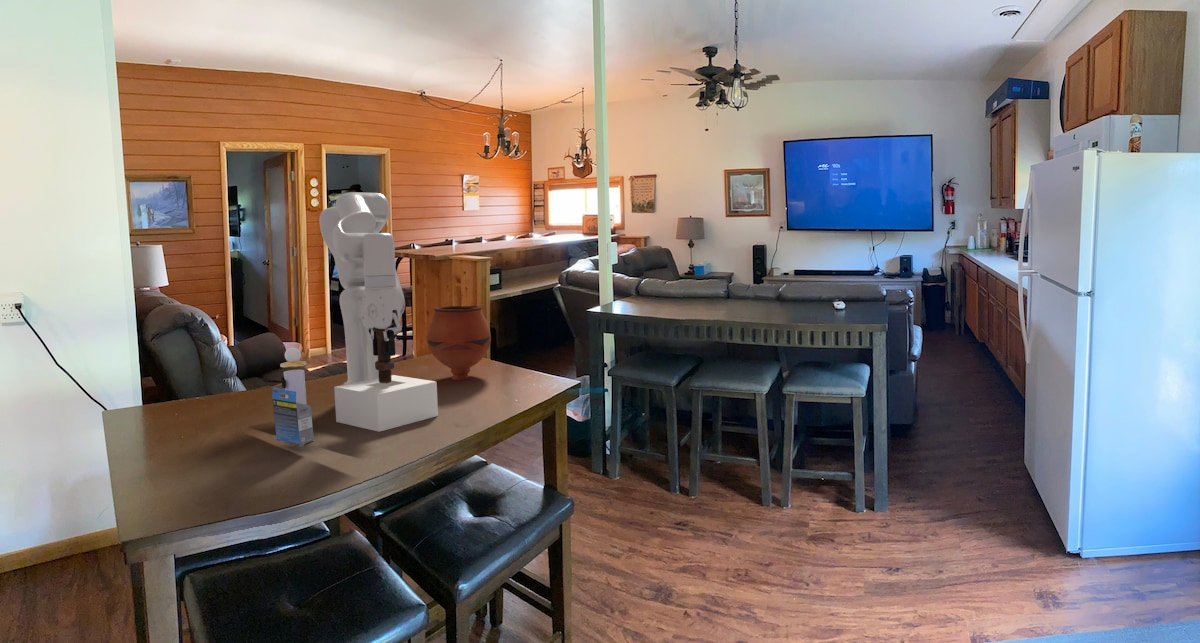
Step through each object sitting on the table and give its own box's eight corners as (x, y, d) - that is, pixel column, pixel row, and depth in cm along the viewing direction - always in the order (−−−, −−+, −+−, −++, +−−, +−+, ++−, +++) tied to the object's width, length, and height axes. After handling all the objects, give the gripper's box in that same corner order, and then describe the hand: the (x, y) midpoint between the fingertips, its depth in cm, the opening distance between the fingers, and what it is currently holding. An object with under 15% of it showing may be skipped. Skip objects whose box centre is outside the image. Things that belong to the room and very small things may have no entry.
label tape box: (314, 441, 157) (311, 388, 156) (299, 445, 154) (295, 391, 152) (290, 436, 161) (286, 384, 160) (274, 440, 158) (270, 387, 157)
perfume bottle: (310, 424, 172) (305, 345, 170) (310, 429, 167) (305, 348, 164) (285, 427, 170) (279, 346, 167) (284, 432, 164) (278, 349, 162)
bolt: (382, 385, 171) (380, 326, 169) (369, 383, 174) (367, 324, 172) (400, 381, 176) (399, 323, 174) (388, 379, 179) (386, 322, 177)
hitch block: (336, 421, 174) (334, 386, 173) (395, 407, 188) (393, 375, 187) (379, 431, 164) (377, 394, 163) (438, 415, 178) (436, 381, 177)
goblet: (505, 385, 216) (502, 305, 213) (454, 396, 201) (451, 311, 199) (466, 378, 228) (463, 303, 225) (417, 388, 214) (413, 307, 211)
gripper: (347, 283, 174) (351, 355, 176) (388, 284, 164) (392, 360, 166) (373, 281, 180) (376, 351, 182) (414, 282, 170) (417, 356, 172)
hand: (384, 354), depth 174 cm, fingers closed on bolt, 3 cm apart
